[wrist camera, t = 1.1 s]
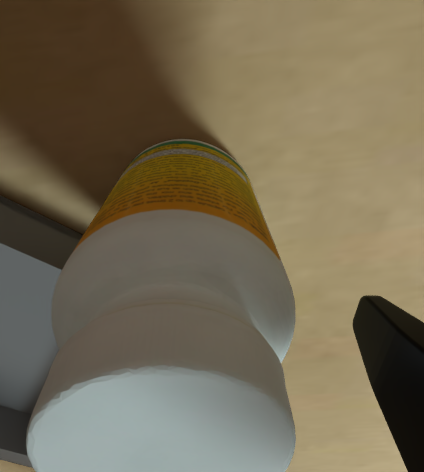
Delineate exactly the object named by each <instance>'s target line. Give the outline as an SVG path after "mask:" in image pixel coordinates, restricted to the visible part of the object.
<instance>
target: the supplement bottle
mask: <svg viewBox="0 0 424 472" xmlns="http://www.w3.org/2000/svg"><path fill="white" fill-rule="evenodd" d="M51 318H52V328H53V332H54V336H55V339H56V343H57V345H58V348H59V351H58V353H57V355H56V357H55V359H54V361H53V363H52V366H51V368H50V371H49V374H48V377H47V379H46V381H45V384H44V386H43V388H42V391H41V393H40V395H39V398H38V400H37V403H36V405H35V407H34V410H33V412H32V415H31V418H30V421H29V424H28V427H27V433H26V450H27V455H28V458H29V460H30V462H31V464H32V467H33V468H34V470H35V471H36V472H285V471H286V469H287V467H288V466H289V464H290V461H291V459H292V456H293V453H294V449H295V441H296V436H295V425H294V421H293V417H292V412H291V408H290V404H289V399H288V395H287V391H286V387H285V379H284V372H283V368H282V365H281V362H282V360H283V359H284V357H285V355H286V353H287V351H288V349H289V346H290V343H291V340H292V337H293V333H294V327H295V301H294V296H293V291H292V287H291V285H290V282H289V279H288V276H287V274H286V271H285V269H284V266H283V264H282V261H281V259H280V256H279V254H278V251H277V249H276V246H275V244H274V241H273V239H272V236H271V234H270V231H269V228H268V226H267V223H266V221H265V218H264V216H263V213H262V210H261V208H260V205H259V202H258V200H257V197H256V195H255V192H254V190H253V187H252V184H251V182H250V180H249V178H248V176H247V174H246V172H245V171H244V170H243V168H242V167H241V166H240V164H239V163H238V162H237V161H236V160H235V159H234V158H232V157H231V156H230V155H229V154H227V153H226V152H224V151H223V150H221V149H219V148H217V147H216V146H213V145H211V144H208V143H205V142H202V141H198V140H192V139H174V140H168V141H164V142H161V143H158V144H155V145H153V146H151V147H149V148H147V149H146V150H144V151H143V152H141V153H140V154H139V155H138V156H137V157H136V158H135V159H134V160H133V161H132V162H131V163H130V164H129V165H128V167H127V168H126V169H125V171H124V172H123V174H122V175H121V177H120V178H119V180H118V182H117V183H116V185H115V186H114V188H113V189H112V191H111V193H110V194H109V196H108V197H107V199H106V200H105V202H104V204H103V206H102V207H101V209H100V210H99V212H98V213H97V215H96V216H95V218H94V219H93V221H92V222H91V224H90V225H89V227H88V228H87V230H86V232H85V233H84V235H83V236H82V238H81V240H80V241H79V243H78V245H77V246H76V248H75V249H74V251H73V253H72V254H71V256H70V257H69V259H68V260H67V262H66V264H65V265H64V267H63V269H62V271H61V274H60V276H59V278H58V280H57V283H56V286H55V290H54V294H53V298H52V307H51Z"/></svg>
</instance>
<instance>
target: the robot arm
mask: <svg viewBox="0 0 424 472" xmlns="http://www.w3.org/2000/svg"><path fill="white" fill-rule="evenodd" d="M353 330H354V333H355V337H356V340H357V343H358V346H359V349H360V352H361V356H362V359H363V362H364V365H365V368H366V372H367V375H368V378H369V381H370V384H371V386H372V389H373V392H374V394H375V396H376V399H377V401H378V403H379V406H380V408H381V410H382V413H383V415H384V417H385V420H386V422H387V424H388V427H389V429H390V431H391V433H392V436H393V438H394V440H395V443H396V445H397V447H398V450H399V452H400V454H401V457H402V459H403V461H404V464H405V466H406V468H407V470H408V472H424V323H423V322H422V321H420V320H418V319H417V318H415V317H414V316H412V315H410V314H409V313H407V312H405V311H404V310H402V309H401V308H399V307H397V306H396V305H394V304H392V303H391V302H389V301H387V300H386V299H384V298H383V297H381V296H363V297H362V298H361V299H360V301H359V304H358V307H357V310H356V313H355V316H354V319H353Z"/></svg>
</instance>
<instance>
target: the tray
mask: <svg viewBox="0 0 424 472" xmlns="http://www.w3.org/2000/svg"><path fill="white" fill-rule="evenodd" d="M82 236H83V235H82V234H80V233H78V232H75V231H73V230H71V229H69V228H67V227H65V226H63V225H61V224H59V223H57V222H55V221H53V220H50V219H48V218H46V217H44V216H42V215H40V214H38V213H36V212H34V211H32V210H30V209H28V208H25V207H23V206H21V205H19V204H17V203H15V202H13V201H11V200H9V199H7V198H5V197H3V196H0V460H4V461H8V462H12V463H16V464H20V465H24V466H28V467H32V464H31V462H30V460H29V458H28V455H27V450H26V433H27V427H28V424H29V421H30V418H31V415H32V412H33V410H34V407H35V405H36V403H37V400H38V398H39V395H40V393H41V391H42V388H43V386H44V384H45V381H46V379H47V377H48V374H49V371H50V368H51V366H52V363H53V361H54V359H55V357H56V355H57V353H58V351H59V348H58V345H57V343H56V339H55V336H54V332H53V328H52V318H51V307H52V298H53V294H54V290H55V286H56V283H57V280H58V278H59V276H60V274H61V271H62V269H63V267H64V265H65V264H66V262H67V260H68V259H69V257H70V256H71V254H72V253H73V251H74V249H75V248H76V246H77V245H78V243H79V241H80V240H81V238H82ZM32 468H33V467H32Z"/></svg>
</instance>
